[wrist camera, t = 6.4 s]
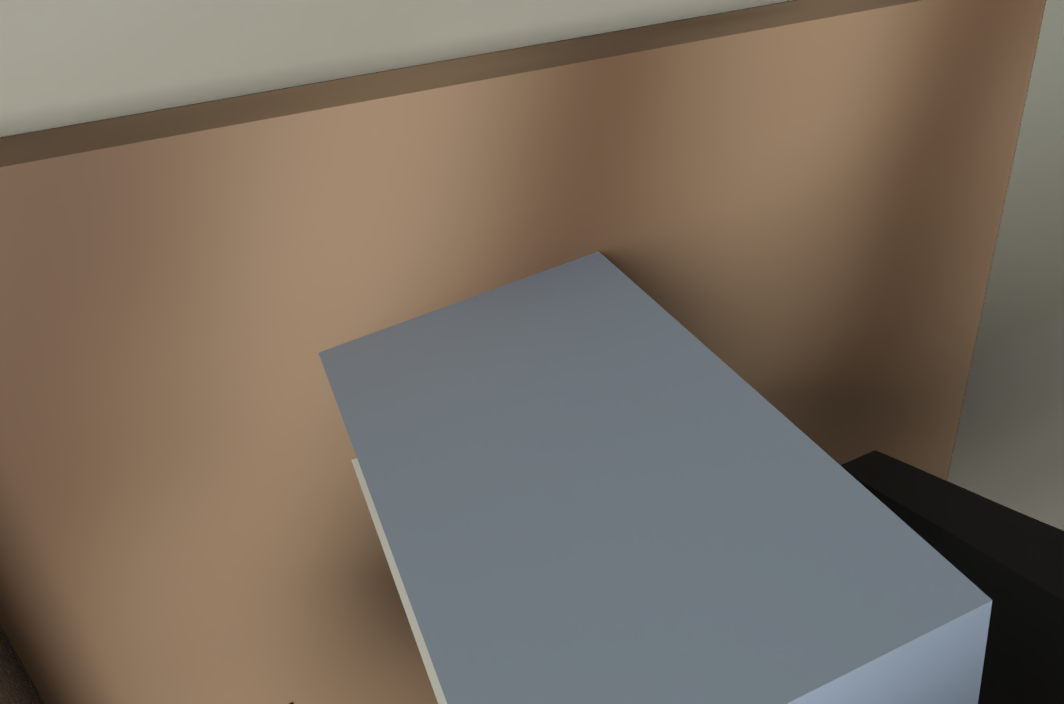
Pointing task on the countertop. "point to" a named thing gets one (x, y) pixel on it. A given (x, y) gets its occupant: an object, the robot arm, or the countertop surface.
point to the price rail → (14, 677)
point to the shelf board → (444, 279)
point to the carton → (631, 516)
